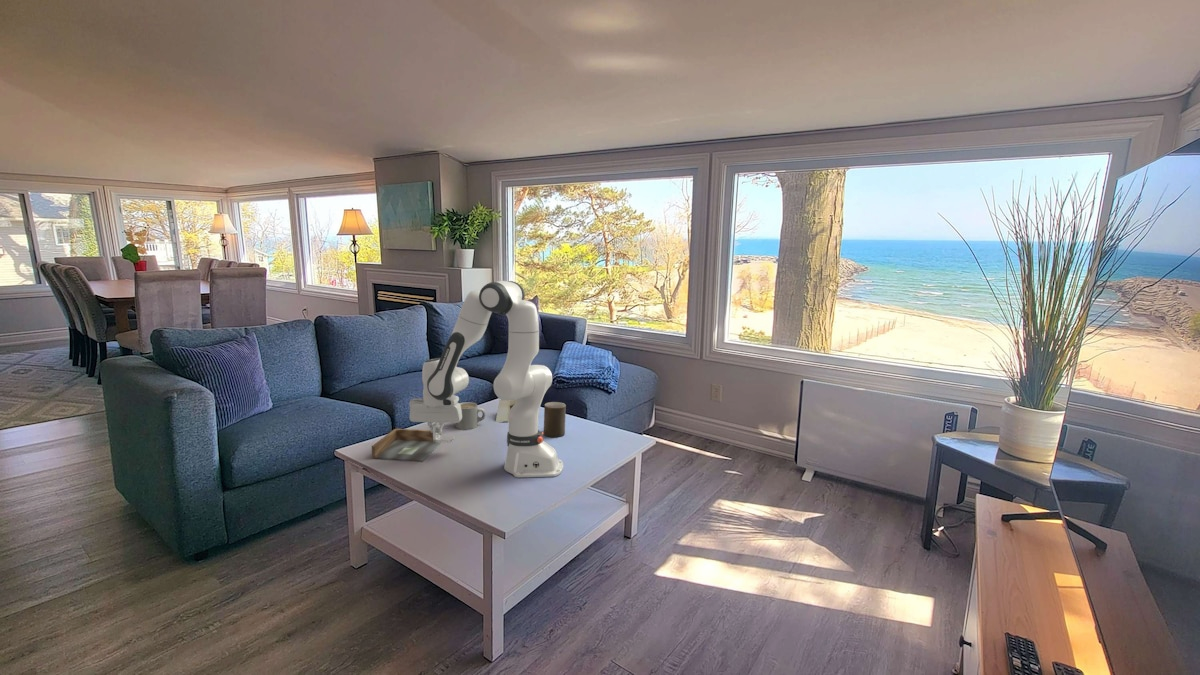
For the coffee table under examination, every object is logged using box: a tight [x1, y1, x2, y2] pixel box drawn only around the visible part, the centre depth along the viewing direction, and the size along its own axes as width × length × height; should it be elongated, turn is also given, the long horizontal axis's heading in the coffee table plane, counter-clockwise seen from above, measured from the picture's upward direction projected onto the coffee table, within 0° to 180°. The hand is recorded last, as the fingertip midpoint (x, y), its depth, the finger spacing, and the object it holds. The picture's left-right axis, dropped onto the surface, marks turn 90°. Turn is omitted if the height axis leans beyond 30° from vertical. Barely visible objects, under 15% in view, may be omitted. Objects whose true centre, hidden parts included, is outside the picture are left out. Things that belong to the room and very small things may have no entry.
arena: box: [371, 428, 442, 462], centre depth 203 cm, size 20×20×5 cm
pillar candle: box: [542, 401, 567, 438], centre depth 226 cm, size 10×10×15 cm
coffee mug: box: [455, 401, 486, 431], centre depth 232 cm, size 13×10×10 cm
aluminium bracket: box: [432, 422, 456, 444], centre depth 199 cm, size 7×5×7 cm
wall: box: [495, 399, 516, 423], centre depth 248 cm, size 16×9×15 cm
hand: (436, 432), depth 199 cm, fingers closed on aluminium bracket
